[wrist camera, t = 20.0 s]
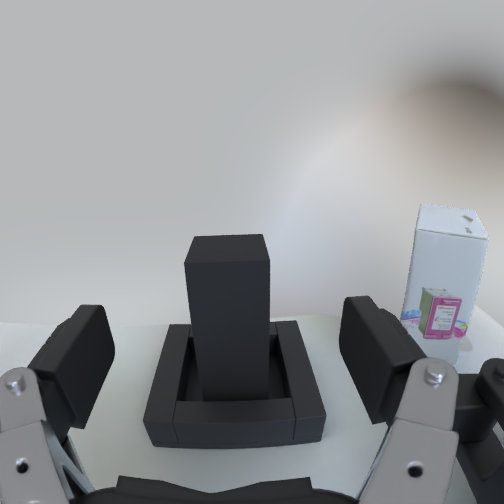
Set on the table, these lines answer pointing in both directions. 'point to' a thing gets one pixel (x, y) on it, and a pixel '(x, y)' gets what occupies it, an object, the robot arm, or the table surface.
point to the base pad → (234, 412)
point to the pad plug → (230, 315)
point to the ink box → (443, 279)
